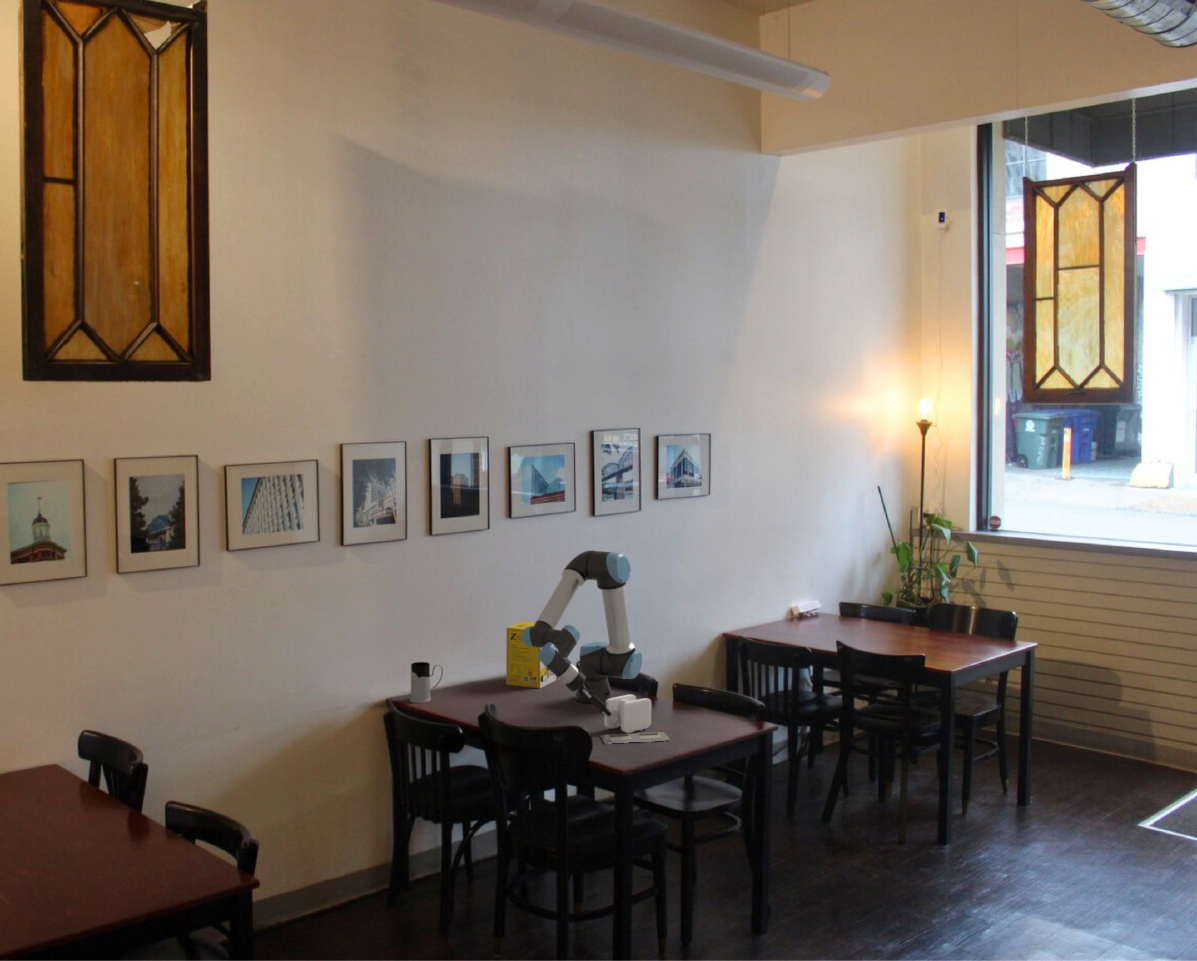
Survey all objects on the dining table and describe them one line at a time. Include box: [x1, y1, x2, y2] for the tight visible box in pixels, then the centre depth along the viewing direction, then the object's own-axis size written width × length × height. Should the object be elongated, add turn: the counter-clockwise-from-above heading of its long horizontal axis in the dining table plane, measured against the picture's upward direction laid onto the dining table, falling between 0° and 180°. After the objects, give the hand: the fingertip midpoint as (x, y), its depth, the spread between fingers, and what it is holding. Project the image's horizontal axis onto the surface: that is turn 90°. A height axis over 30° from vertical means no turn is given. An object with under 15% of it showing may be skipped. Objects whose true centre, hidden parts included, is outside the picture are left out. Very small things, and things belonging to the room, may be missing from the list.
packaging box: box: [505, 621, 557, 689], centre depth 496 cm, size 16×16×25 cm
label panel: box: [599, 731, 671, 745], centre depth 414 cm, size 10×24×1 cm, turn 100°
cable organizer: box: [603, 694, 652, 734], centre depth 425 cm, size 15×11×12 cm
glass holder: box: [409, 661, 444, 704], centre depth 468 cm, size 9×14×15 cm, turn 121°
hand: (615, 720), depth 424 cm, fingers closed
